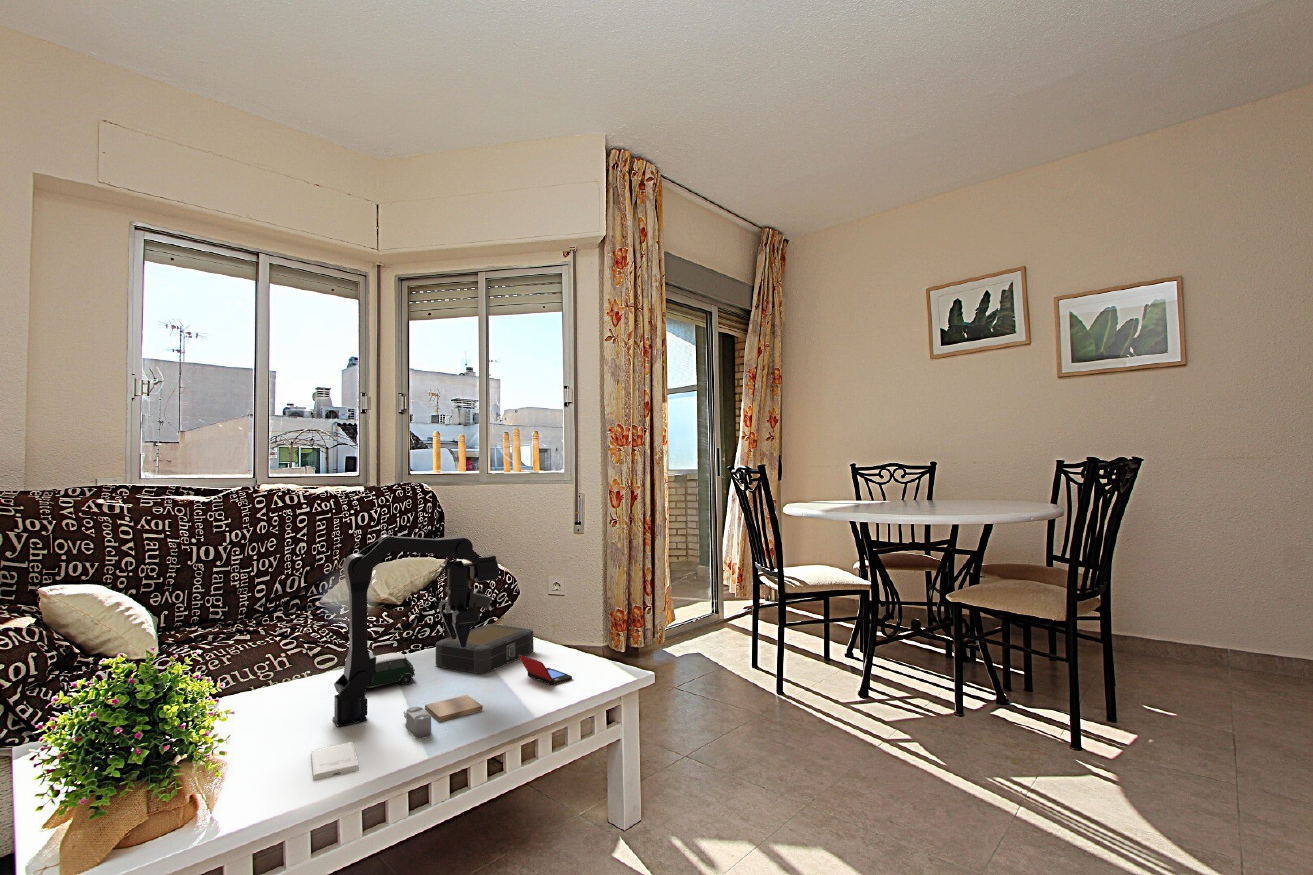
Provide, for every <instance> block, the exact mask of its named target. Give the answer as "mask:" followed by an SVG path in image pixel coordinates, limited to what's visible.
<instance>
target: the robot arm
mask: <svg viewBox="0 0 1313 875" xmlns="http://www.w3.org/2000/svg"><path fill="white" fill-rule="evenodd" d="M473 546H474V545H473V543H472V541H471V540H470V539H469V538H466V537H464V536H459V535H454V536H453V535H451V536H445V537H439V538H423V537H410V536H409V537H408V536H397V535H396V536H394V535H389V534H383V535H381V536H380V537H379V538H378V539H377V540H375V541H374V542H372V543H370V544H369V545H367V546H366V547H364V548H362V549H361V550H360V551H358V552H356V553H352V554H350V555H348V556H347V557H346V558H345V559H344V560H343V564H342V570H343V575H344V580H345V582H346V583H345V584H346V586H347V590H348V612H349V613H348V621H349V624H348V625H349V627H348V628H349V630H348V633H349V636H348V637H349V639H348V642H349V643H348V644H349V648H348V653H347V656H346V659H345V662H344V663H345V664H344V668H343V669H344V671H343V673H342V674H341V675H340V677H339V678H338V679H337V680H336V681H335V682H334V683H333V687H334V689H335V690H336V692H337V693H338V694H334V706H333V707H334V712H333V713H334V716H333V717H332V720H333V723H335V725H336V726H337V727H338V728H339V727H340V728H341V727H345V726H349V725H353V724H358V723H361V722H366V721H368V717H367V715H368V698H367V697H366V692H367V688H368V686H369V685H370V684H371V683H372V682H373V679H374V674H377V672H376V670H375V665H376V657H375V656H376V655H374V653H373V652H372V651H369V649H368V648H369V647H368V643H369V640H368V636H369V635H368V591H369V587H370V585H371V584H370V583H371V581H372V576H373V570H374V568H375V567H377V566H378V565H379V564H380V563H381V562H382V561H383V560H384V559H385V558H386V557H387V556H388V555H389V554H390V553H392V552H393V553H394V552H397V553H412V554H413V553H415V554H416V553H417V554H434V555H435V554H436V555H441V556H445V557H448V558H445V560H444V561H443V562H442V563H441V564H439V567H440V568H441V569H443V570H447V587H445V592H446V593H447V599H442V600H441V601H440V602H439V603H438V611H439V612H440V615H441V617H442V620H443V622H444V624H445V627H446V629H447V631H448V634H449V637H451V639H456V636H457V638H458V641H459V643H460V646H461V647H465V646H466V643H467V639H468V636H469V632H470V630H472V627H473V626H475V624H478V623H479V621H480V620H481V617H480V616H481V613H480V612H479V611H478V610H477V609H475V608H474V607H479V608H483V609H484V610H489V608H490V605H491V604H492V603H491V602H492V599H493V598H492V597H491V596H489V595H486V594H484V590H482V589H479V588H475V590H474V589H473V587H471V579H473V580H474V582H475V583H481V582H489V581H490V582H492V581H497V580H498V579H499V576H500V567H499V563H498V561H497V556H496V555H494V554H491V555H487V556H478V554H477V553H476V552H475V551H474V547H473ZM449 558H452V559H456V560H451V559H449ZM462 560H465V561H467V562H466V563H464V562H463V561H462ZM365 691H366V692H365Z"/></svg>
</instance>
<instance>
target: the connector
mask: <svg viewBox="0 0 1313 875" xmlns="http://www.w3.org/2000/svg"><path fill="white" fill-rule="evenodd" d="M403 717H404V719H405V723H406V724H405V726H406V727H405V729H406V728H407V729H406V730H407V731H408V732H409V733H410V734H411V735H412V736H415V737H416V739H426V738H428V737H430V736H431V735H432V715H431V714H429V713H428V712H427V711H426V710H425V708H423V707H421V706H412V707H409V708H407V709H406V710H404V711H403ZM425 737H426V738H425Z"/></svg>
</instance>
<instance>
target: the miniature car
mask: <svg viewBox="0 0 1313 875" xmlns="http://www.w3.org/2000/svg"><path fill="white" fill-rule="evenodd" d="M374 656H375V657H376V665H375V670H376V672H377V674H374V679H373V682H372V683H371V684H370V685H369V686H368V687H367V688H374V687H380V686H383V685H389V684H392V683H397V682H400V683H401V684H403V685H404V686H405V685H410V684H411V682H412V680H413V678H414V677H415V676H416V673H415V670H416V669H415V668H414V665H413V664H412V663H411V661H409V660H408V658H407V657H406V654H403V653H400V652H389V653H384V654H379V655H374ZM366 692H367V690H366V691H365V693H366Z"/></svg>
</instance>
